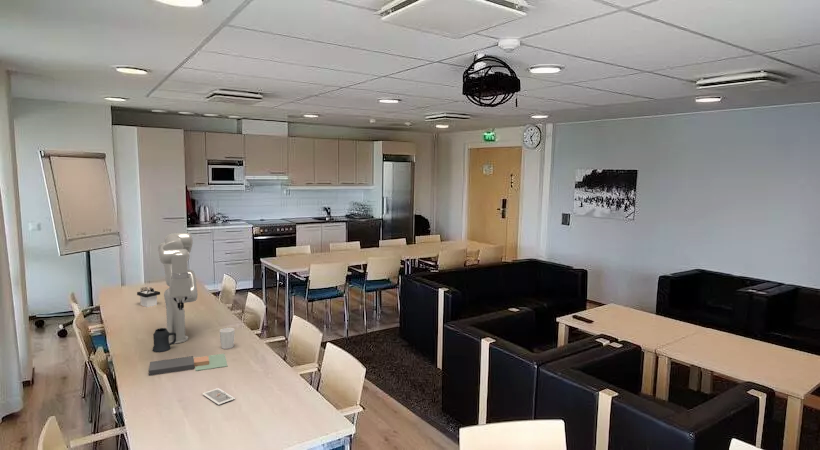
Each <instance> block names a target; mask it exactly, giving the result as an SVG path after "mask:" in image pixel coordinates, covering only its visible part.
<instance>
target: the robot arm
mask: <svg viewBox="0 0 820 450" xmlns="http://www.w3.org/2000/svg"><path fill="white" fill-rule="evenodd" d="M193 244H194V242H193V237H192V235H191V234H190V233H189V232H174V233H173V232H172V233H169V234H167V235H165V238H164V241H163V242H161V243H159V244H158V247H157V251H158V258H159V261H160V263H161V264H163V268H164V276H165V279H164V280H165V283H166V285H167V287H169V288H166V289H165V291H164V293H163V297H164V303H165V309H166V310H165V312H166V329H167V331H168V332H169V333H172V332H176V342H175V343H174V344H173V345H175V344H176V345H177V344H181V343H185V342H187V341H189V336H188V335H186V314H185V305H184V304H188V303H194V302H196V301H197V299H198V287H197V279H196V274H195V272H194V270H193V269H189V266H188V261H189V260H190V256H191V255H190V253H191V252H192V247H193ZM173 341H174V335H169V344H170V343H171V342H173Z"/></svg>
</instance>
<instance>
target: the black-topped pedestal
mask: <svg viewBox="0 0 820 450" xmlns="http://www.w3.org/2000/svg"><path fill="white" fill-rule="evenodd" d="M136 295H137V296H139V297H140V298H139V299H140V306H141V305H142V306H141V307H145V308H151V307H154V305H155V306H157V305H158V296H159V295H161V291H158V290H157V291H156V290H155V287H154V288H152V287H148V286H145V287H139V291H137V292H136ZM150 306H151V307H150Z"/></svg>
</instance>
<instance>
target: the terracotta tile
mask: <svg viewBox="0 0 820 450" xmlns="http://www.w3.org/2000/svg"><path fill="white" fill-rule="evenodd" d="M208 356H209V355H204V357H203V356H198V357H197V356H196V358H195V357H193V358H194V368H195V366H202V365H209V357H208Z"/></svg>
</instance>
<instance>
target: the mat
mask: <svg viewBox="0 0 820 450" xmlns="http://www.w3.org/2000/svg"><path fill="white" fill-rule="evenodd" d="M204 356H205V355H204ZM204 356H202V357H204ZM207 356H208V357H209V365H202V366H195V367H194V370H195V372H199V371H206V370H212V369H213V370H214V369H221V368H227V367H228V363H227V362H228V361H227V358H226V354H225V353H219V354H212V355H207ZM196 357H197V356H196ZM196 357H194V358H196Z"/></svg>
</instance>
